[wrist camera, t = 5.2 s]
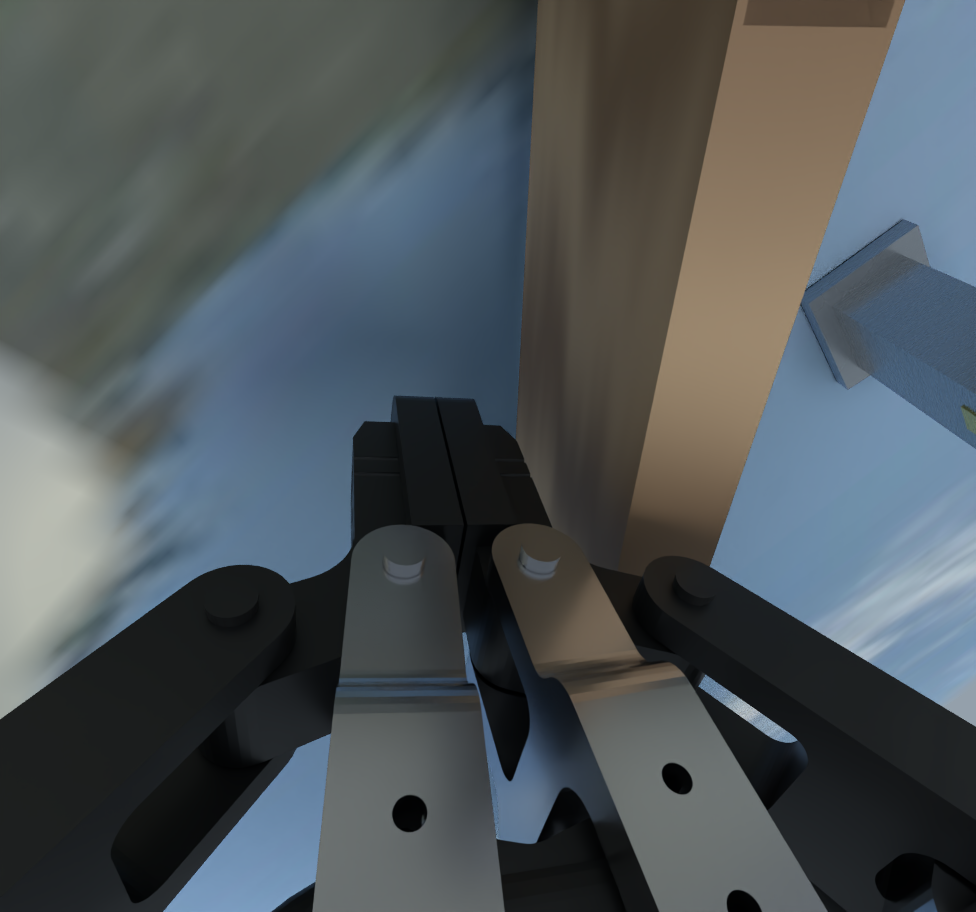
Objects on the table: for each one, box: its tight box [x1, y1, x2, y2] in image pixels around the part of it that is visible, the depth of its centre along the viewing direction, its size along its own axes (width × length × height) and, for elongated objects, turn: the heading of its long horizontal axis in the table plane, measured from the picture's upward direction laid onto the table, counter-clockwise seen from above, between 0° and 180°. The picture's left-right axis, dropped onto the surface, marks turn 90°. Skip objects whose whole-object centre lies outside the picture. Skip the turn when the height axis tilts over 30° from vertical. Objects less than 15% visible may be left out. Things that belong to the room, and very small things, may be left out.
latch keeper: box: [801, 220, 976, 449], centre depth 17 cm, size 4×4×8 cm
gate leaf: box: [516, 0, 905, 577], centre depth 13 cm, size 16×2×10 cm, turn 0°
